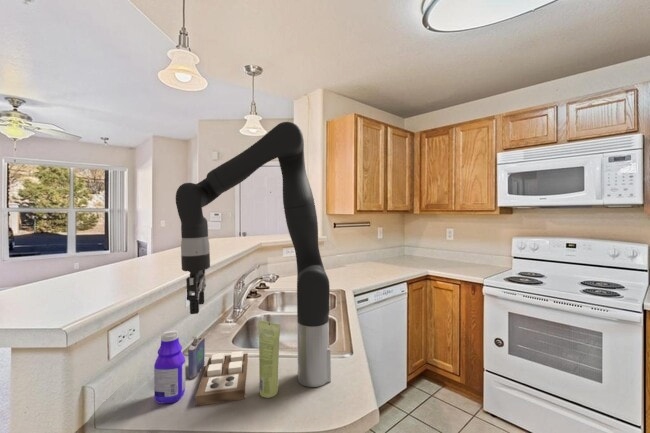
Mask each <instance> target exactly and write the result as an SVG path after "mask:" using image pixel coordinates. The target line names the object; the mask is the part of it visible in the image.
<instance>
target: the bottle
mask: <svg viewBox="0 0 650 433" xmlns="http://www.w3.org/2000/svg"><path fill="white" fill-rule="evenodd" d="M160 336H161V337H160V338H161V339H160V346H159V348H158V349H157V354H158V356H157V357H156V360H155V362H154V364H153V367H154V372H153V373H154V379H153V380H154V385H153V386H154V388H153V390H154V395H153V396H154V399H155V401H156V403H159V404H172V403H176V402H178V401H180V399H181V398H182V397H183V396H184V393H185V391H186V357H185V355H184V353H183V352H182V349H183V346H182V345H181V343H180V340H179V331H177V330H168V331H165V332H163V333H162V334H161V335H160Z"/></svg>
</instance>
